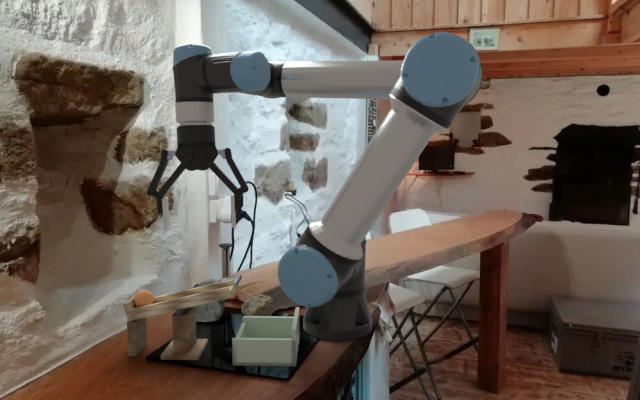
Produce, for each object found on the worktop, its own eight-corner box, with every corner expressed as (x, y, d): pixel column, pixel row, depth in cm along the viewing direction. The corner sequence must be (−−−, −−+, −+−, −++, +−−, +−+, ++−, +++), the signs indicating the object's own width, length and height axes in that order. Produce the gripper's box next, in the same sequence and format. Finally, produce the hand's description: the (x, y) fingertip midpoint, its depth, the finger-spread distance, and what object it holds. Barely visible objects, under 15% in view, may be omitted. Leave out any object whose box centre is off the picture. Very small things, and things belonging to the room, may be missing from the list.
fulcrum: (208, 342, 102) (207, 303, 101) (197, 360, 94) (196, 318, 93) (141, 341, 102) (139, 302, 101) (125, 359, 95) (124, 317, 93)
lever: (243, 282, 107) (238, 263, 106) (230, 304, 93) (224, 282, 92) (152, 303, 107) (147, 284, 107) (127, 328, 94) (120, 306, 93)
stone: (193, 281, 110) (222, 269, 119) (168, 303, 115) (199, 291, 123) (216, 318, 108) (244, 303, 117) (190, 339, 113) (220, 324, 121)
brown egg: (158, 302, 99) (153, 285, 99) (151, 309, 96) (147, 291, 95) (140, 306, 99) (136, 289, 99) (133, 312, 96) (128, 294, 95)
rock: (281, 318, 117) (281, 299, 116) (248, 323, 113) (248, 304, 113) (271, 309, 123) (271, 291, 122) (239, 313, 120) (239, 295, 119)
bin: (299, 339, 104) (299, 307, 103) (295, 366, 92) (295, 329, 91) (243, 339, 104) (243, 306, 103) (232, 365, 92) (232, 328, 91)
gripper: (257, 124, 107) (260, 222, 110) (135, 126, 104) (142, 227, 106) (257, 122, 100) (261, 228, 102) (126, 125, 97) (134, 233, 99)
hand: (200, 228), depth 104 cm, fingers open, 13 cm apart
